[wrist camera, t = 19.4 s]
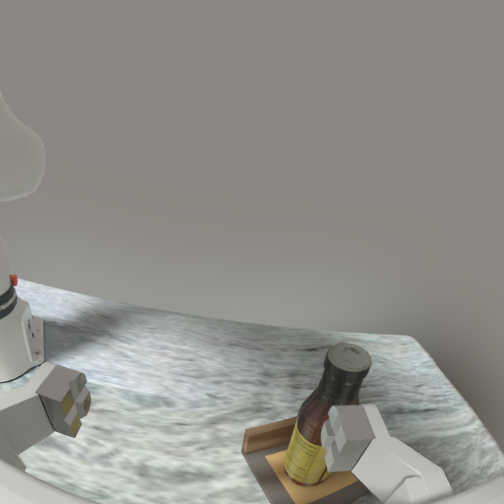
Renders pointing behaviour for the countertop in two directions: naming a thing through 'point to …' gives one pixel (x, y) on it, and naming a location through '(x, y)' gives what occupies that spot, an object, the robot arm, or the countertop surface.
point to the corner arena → (276, 481)
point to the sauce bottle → (324, 412)
